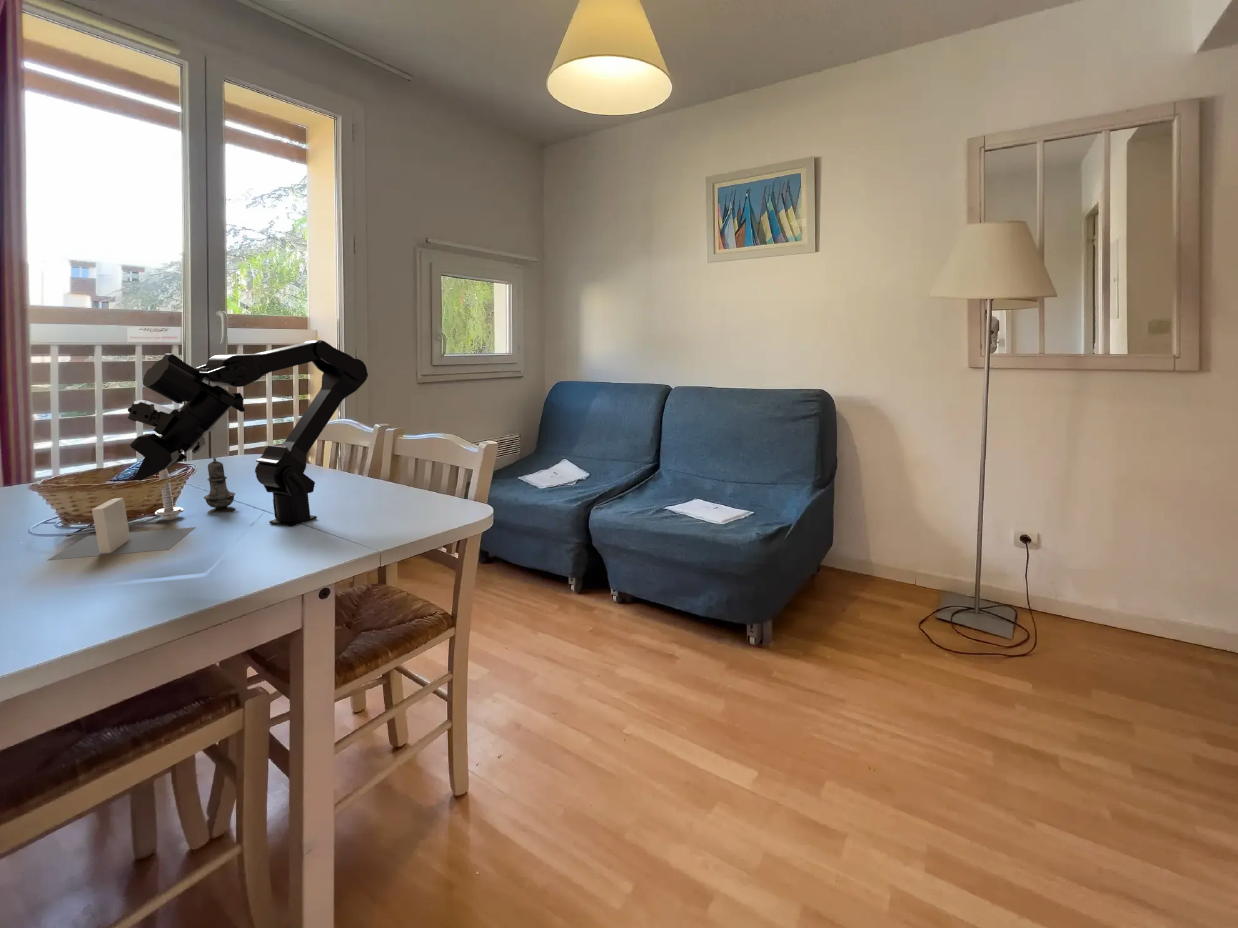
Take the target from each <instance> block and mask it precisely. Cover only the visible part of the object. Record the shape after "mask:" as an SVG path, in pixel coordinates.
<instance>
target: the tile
mask: <svg viewBox="0 0 1238 928" xmlns="http://www.w3.org/2000/svg"><path fill="white" fill-rule="evenodd" d="M126 510H127V509H126V505H125V500H124V497H117V498H111V499H110V500H108V501H106V502H103V503H102V504H100V505H98V506H96V507H94V508H92V509H91V512H92V518H93V523H94V524H93V525H94V528H95V529H94V530H95V535H97V541H98V546H99V552H100V554H104V553H111V552H113V551H114V550H116V549H117V548H119V547H120V546H121V545H123V544H124V543H126V542H127V541H129V540H130V533H131V532H130V528H129V522H128V517H127V516H128V515H127V511H126Z"/></svg>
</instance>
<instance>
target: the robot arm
mask: <svg viewBox="0 0 1238 928" xmlns="http://www.w3.org/2000/svg"><path fill="white" fill-rule="evenodd" d="M308 363H313V365H314V366H315V368H316V369H318V370H319V371H320V372H322V375H321V388H320V390H319V391H318V392H317V394H316V395H315V397H314V398H313V399H312V401H311V402H310V404H309V405H308V407H307V408H306V410H305V411H304V413H303V414H302V416H301V417H300V418H299V419H298V421H297V423H296V424H295V426H294V427H293V428H292V430H291V431H290V433H289V435H288V436H287V438H286V439H285V440H284V441H283V442H282V443H281V444H279V445H272V444H268V445H267V446H266V447H265V448H264V452H262V455H261V456H260V457H259V458H257V459H256V461H255V462H256V463H257V465H256V467H255V469H254V473H255V477H256V480H257V481H258V482H259V483H260V484H261V485H263V487H264V489H265V491H266V492H267V493H272V497H273V498H272V502H273V503H272V504H273V513H274V518H275V519H271V520H269V524H272V525H277V526H283V527H285V526H286V527H294V526H297V525H300V524H305V523H307V522H311V521H313V520H317V519H318V516H317V515H311V510H310V501H309V494H311V493H314V489H315V484H316V482H315V481H314V480H313V479H312V478H311V477H309V476H307V475H306V474H305V472H306V471H305V470H306V469H307V460H308V459H307V458H308V454H309V451H310V450H311V448H312V447H313V445H314V444H315V443H316V442H317V439H319V437H320V435H321V433H322V432H323V431H324V429H325V428H326V426H327V424H328V423H329V422H330V420H331V418H332V417H333V415H334V414H335V412H336V411H337V410H338V408H339V407H340V405H341V404H342V402H343V401H344V400H345V399H346V398H347V397H349V396H350V395H352V394H354V393H356V392H357V391H358V390H359V389H360V387H362V386H363V385H364V384H365V382H366V381H367V379H368V377H369V373H368V369H367V366H366V364H365V362H364V361H363V360H361V359H359V358H354V357H353V356H352V355H350V354H348V353H346V352H345V351H342V350H340V349H338V348H336V347H333V346H332V345H331V344H330V343H328V342H326V341H325V340H322V339H320V340H319V339H318V340H314V339H313V340H312V339H311V340H306V341H305V342H301V343H297V344H292V345H287V346H283V347H279V348H274V349H271V350H270V349H269V350H265V351H261V352H255V353H249V354H248V353H244V354H243V353H242V354H217V355H213V356H211V357H210V358H208V360H207V362H206V363H205V364H203V365H201V366H197V367H193V366H191V365H189V364H188V363H186V362H184V361H183V360H182V359H180V358H179V356H177V355H175V354H173V353H165V354H164V355H163V356H162V358H161V359H159V360H158V361H156V362H155V363H154V364H153V365H152V366H151V367H149V368H148V369H147V370H146V372H145V373H144V376H143V379H142V385H143V386H144V387H145V388H147V389H149V390H150V391H153V392H155V393H157V394H159V395H161V396H162V397H164V398H166V399H168V400H169V401H170V400H171V401H172V402H174V403H175V404H182V403H184V402H185V403H184V404H183V405H182V406H181V407H180V408H175V409H171V408H169V407H168V406H164V405H160V404H158V403H156V402H152V401H148V400H144V399H139V400H135V401H133V402H132V405H131V406H130V407H128V408H127V412H128V416H127V419H128V420H130V421H132V422H139V423H142V424H144V425H148V426H151V427H155V428H153V430H152V431H154V432H155V433H145V434H142V435H139V436H137V437H136V438H135V439H134V440H133V441H132V442H131V443H130V444H129V446H130V448H131V449H132V450H134V451H136V452H137V453H138V454H140V455H141V456H143V460H142V462H141V463H140V466H139V467H138V469H137V471H136V474H135V476H134V478H135V479H136V480H138V481H141V482H142V481H143V480H146V478H149V477H151V476H153V475H155V474H157V473H158V474H159V472H160V471H162V470H164V469H166V468H167V469H168V468H170V467H172V466H175V465H176V464H178V463H180V462H182V461H183V460H186V459H187V458H188V457H187V456H186V455H185V454H183V452H184V453H186V452H189V451H190V450H192V451H191V452H192V453H193V454H196V453H199V451H201V450H202V449H203V448H204V447H205V446H206V440H205V437H204V436H205V435H206V434H207V433H210V432H211V431H212V430H213V429H214V428H215V427H214V426H215V425H216V424H217V423H218V422H219V421H220V419H222V417H223V416H224V415H225V414H226V413H227V412H228V411H230V409H231V408H234V409H235V410H237V411H238V412H241V413H244V412H245V411H246V410H245V406H244V399H245V398H244V396H243V395H242V393H241V392H231V391H228V390H226V389H225V388H223V387H228V388H229V387H231V388H232V387H233V388H234V387H235V388H242V387H243V388H244V387H246V386H248V385H251V384H252V383H254V382H257V381H259V380H260V379H261V378H262V377H264V376H265V375H267V374H270V373H272V372H276V371H281V370H284V369H288V368H292V367H295V366H299V365H304V364H308ZM206 382H211V383H212V384H214V385H213V386H212V385H211V384H208V383H206ZM157 434H158V435H161V436H158V435H157Z"/></svg>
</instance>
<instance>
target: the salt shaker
mask: <svg viewBox="0 0 1238 928" xmlns="http://www.w3.org/2000/svg"><path fill="white" fill-rule="evenodd" d="M207 470H208V471H207V473H208V478H207V481H208V482H209V493H208V494H206V495H205V496H203V499H204V500H205V502H206V504H207V505H208V506H209V507H211V509H209V510H208V511H207V513H206V514H219V513H231V512H232V513H233V512H235V511H236V508H235V507H233V506H230V505H231V504H232V503H234V500H235V496H236V493H235V492H232V491H229V489H228V486H227V480H226V479H228V476H225V470H224V464H223V463H222V462H220V461H218V460H217V458H216V457H213V458H212V461H211V462H210V463H208V465H207Z"/></svg>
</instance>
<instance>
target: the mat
mask: <svg viewBox="0 0 1238 928" xmlns="http://www.w3.org/2000/svg"><path fill="white" fill-rule="evenodd" d="M196 528H197V527H195V526H194V527H182V528H169V529H159V530H145V531H133V532H132V531H130V532H129V533H130V540H129V541H127V542H126V543H124V544H123V545H121V546H120V547H119V548H117V549H116V550H114V551H113V552H111V553H104V554H100V552H99V546H98V541H97V535H96V534H95V535H87V536H86V537H84V538H82V539H80V540H79V541H77V542H75V543H73V544H72V545H70V546H68V547H67V548H66V549H64V550H61V551H60V552H58V553H57V554H54V555H53V556H52V557H49V558H48V559H47V561H54V560H56V559H57V560H65V559H67V560H68V559H76V558H78V559H80V558H89V557H99V556H100V557H102V556H111V555H113V556H114V555H121V554H122V555H123V554H133V553H135V554H136V553H143V552H144V553H145V552H157V551H169V550H170V549H172V548H173V547H174V546H175V545H177V544H178V543H179V542H180V541H182V540H183V539H184V538H185V537H187V535H189V534H190V533H191V532H192V531H193V530H195V529H196Z"/></svg>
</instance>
